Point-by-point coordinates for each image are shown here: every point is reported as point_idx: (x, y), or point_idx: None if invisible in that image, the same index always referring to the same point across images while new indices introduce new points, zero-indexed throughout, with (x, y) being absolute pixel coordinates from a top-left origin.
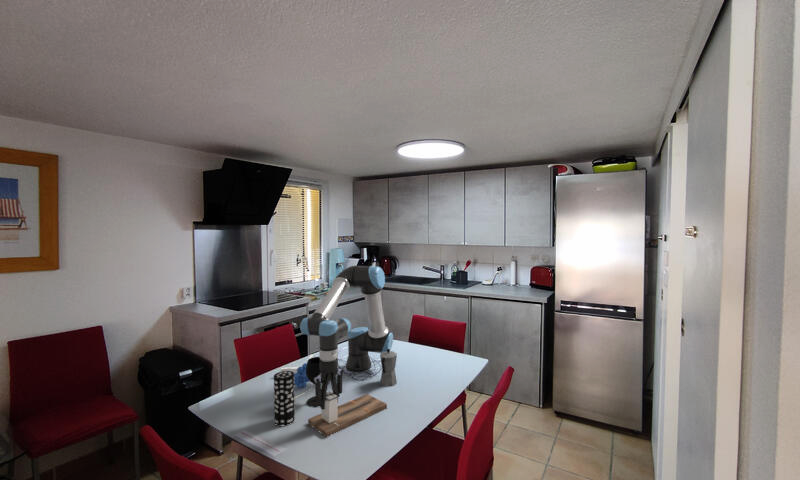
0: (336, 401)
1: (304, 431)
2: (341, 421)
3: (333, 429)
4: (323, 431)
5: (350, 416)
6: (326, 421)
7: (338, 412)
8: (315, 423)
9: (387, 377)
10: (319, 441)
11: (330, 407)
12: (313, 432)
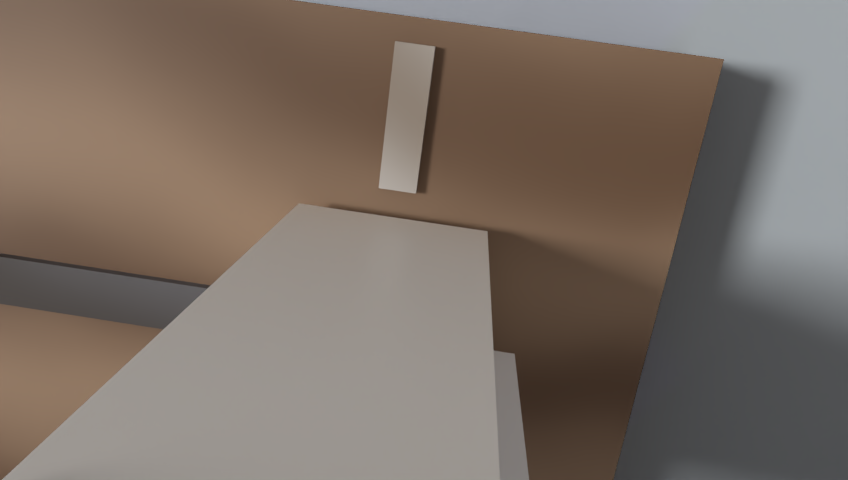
0: (130, 411)
1: (744, 458)
2: (272, 120)
3: (555, 36)
4: (690, 161)
5: (43, 114)
6: None
7: None
8: (608, 438)
9: None
10: (842, 65)
11: (441, 382)
12: (692, 338)
